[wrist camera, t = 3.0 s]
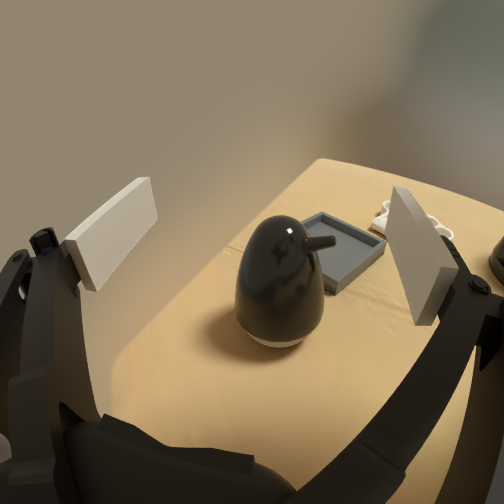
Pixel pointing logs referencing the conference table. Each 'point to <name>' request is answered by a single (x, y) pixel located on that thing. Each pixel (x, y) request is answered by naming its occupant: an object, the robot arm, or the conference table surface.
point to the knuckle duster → (381, 220)
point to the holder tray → (343, 250)
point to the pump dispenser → (281, 282)
